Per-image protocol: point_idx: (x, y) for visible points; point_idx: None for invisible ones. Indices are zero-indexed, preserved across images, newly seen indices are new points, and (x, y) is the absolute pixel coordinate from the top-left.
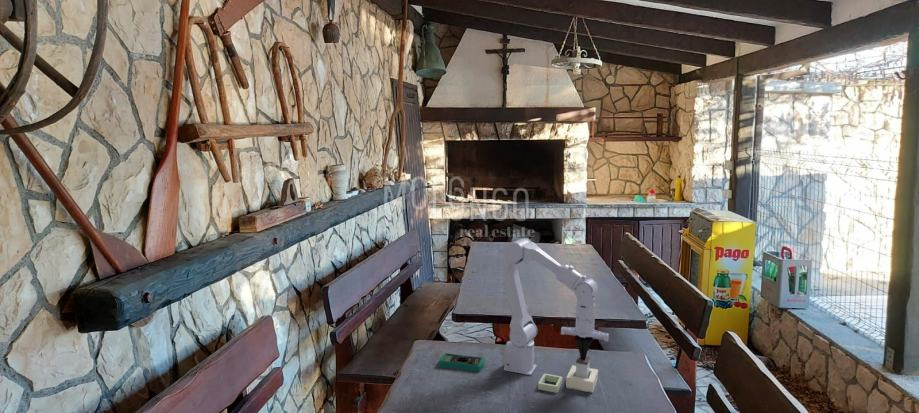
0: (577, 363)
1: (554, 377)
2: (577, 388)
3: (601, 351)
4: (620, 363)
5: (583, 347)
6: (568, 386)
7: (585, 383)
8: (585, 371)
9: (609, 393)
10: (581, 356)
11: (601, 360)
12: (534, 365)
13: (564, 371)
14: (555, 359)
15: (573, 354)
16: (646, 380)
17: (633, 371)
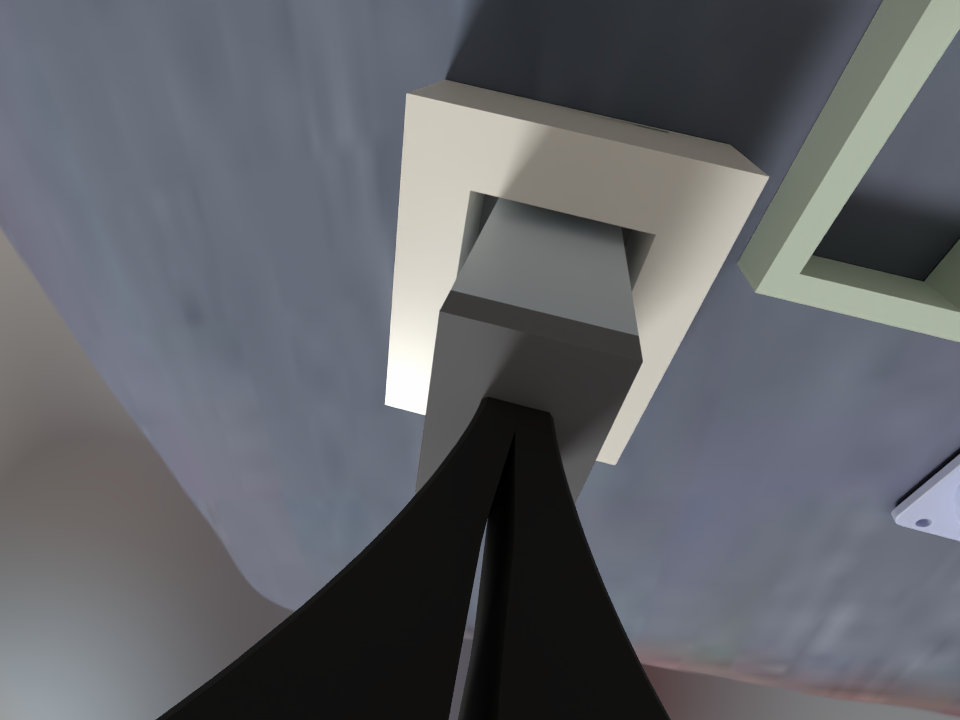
0: (615, 329)
1: (854, 282)
2: (605, 120)
3: None
4: (310, 533)
5: (481, 634)
6: (708, 143)
7: (511, 111)
8: (495, 251)
9: (292, 113)
10: (538, 443)
11: None
12: (924, 513)
13: (661, 451)
14: (688, 579)
15: None
16: (127, 373)
17: (227, 464)
